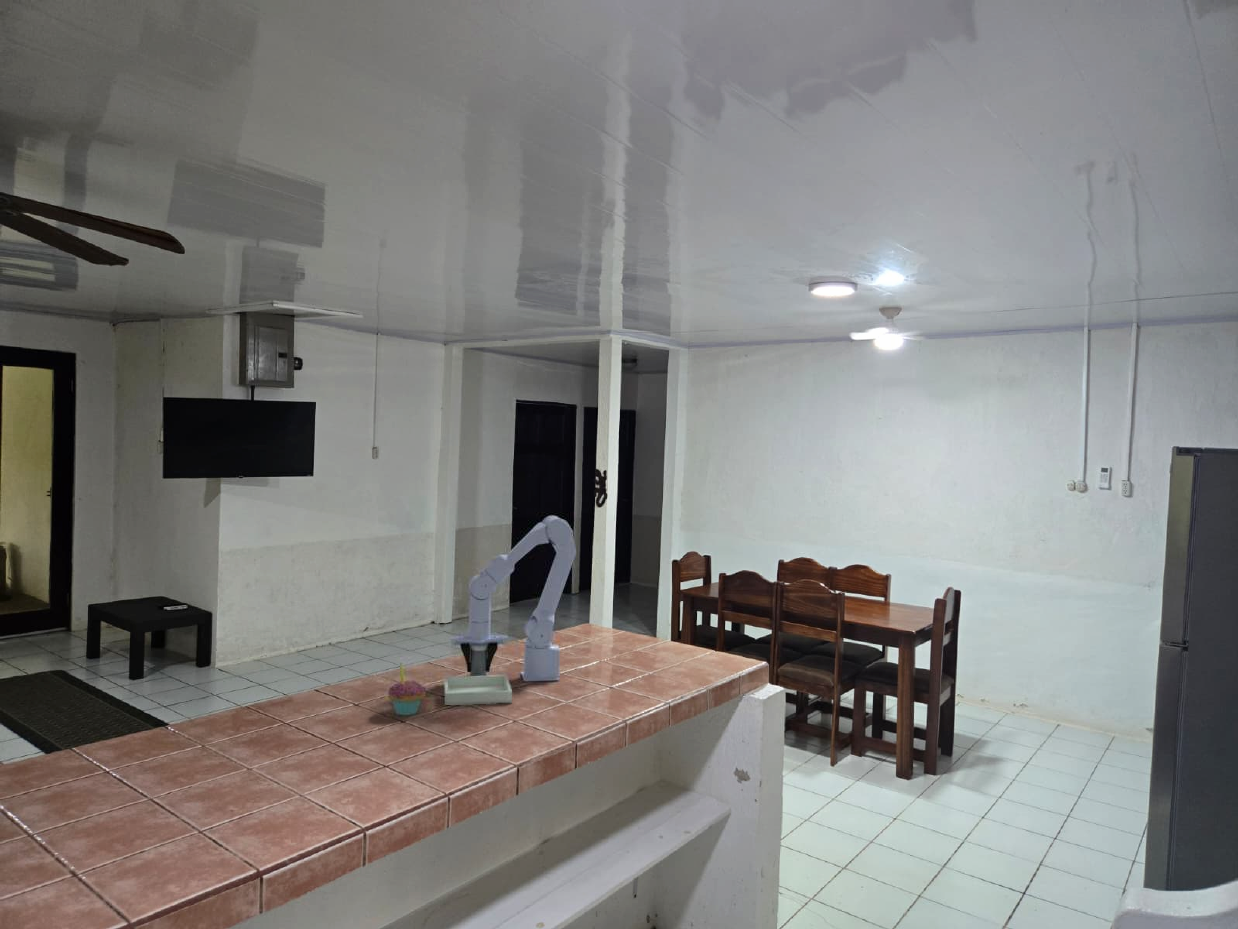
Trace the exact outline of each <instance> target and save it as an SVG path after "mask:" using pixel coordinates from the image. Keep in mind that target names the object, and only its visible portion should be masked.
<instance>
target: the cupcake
mask: <svg viewBox="0 0 1238 929" xmlns="http://www.w3.org/2000/svg"><path fill="white" fill-rule="evenodd" d="M399 665H400V666H399V672H400V673H399V674H400V680H401V681H399V682H397V683H394V684H393V686H391V687H390V688H389V690H388V692H387V696H388V697H387V698H388V699H389V700H390V701H391V702H392V704H393V706H394V710H395V714H397V715H399V716H412V715H414V713H415V714H416V713H417V712H418V708H419V705H420V703H421V701H422V700H423V699H424V698H426V696H427V695H426V688H425V687H424V686H423V685H422V684H421V683H419V682H418V681H415V680H406V681H405V675H404V666H403V665H402V663H399ZM411 714H412V715H411Z"/></svg>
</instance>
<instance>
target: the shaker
mask: <svg viewBox="0 0 1238 929" xmlns="http://www.w3.org/2000/svg"><path fill="white" fill-rule="evenodd" d="M487 649H488V644H471V645H470V672H469V676H486V675H487V673H488V672H487Z"/></svg>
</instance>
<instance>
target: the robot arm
mask: <svg viewBox="0 0 1238 929" xmlns="http://www.w3.org/2000/svg"><path fill="white" fill-rule="evenodd" d="M549 543H551V546H552V547H553V548H554V551H555V553H556V554H555V557H554V559H553V561H552V565H551V568H550V571H549V573H548V575H547V576H548V577H547V579H546V582H545V584H544V588H543V590H542V593H541V595H540V599H539V601H538V603H537V604H538V605H537V607H536V608H535V609H534V610H533V611H532V614H531V615H530V616H531V617H530V618H529V619H528V620H527V621H525V624H524V626H523V627H524V628H523V630H524V634H525V636H526V637H527V639H526V640H525V642H524V654H523V655H524V656H523V657H524V658H523V659H524V660H523V661H524V662H523V671H520V675H521V677H522V680H523V682H539V681H540V682H543V681H544V682H545V681H547V682H548V681H559V680H560V678H559V676H560V675H559V674H560V673H559V672H560V648H559V645H558V644H552V641H553V638H554V632H553V631H554V630H553V628H554V625H555V613H556V610H557V608H558V605H559V602H560V599H561V596H562V594H563V591H564V588H565V586H566V583H567V580H568V577H569V574H570V572H571V568H572V567H573V566H572V565H573V563H574V560H575V558H576V556H577V555H576V554H577V548H576V543H575V539H574V531H573V529H572V528H571V525H570V524H569V523H568V521H567V520H565V519H562V518H560V517H559V516H557V515H548V516H546V517H544V519H543V520H542V521H541V522H540V521H539V522H538V523H536V525H534V527H533V528H531V530H530V531H529V532H528V533H527V534H526V535H525V536H524V537H523V538H522V539H521V540H520V541H518V542H517V544H516V545H515V546H514V547H513V548H512V549H510V550H509V551H508V553H506V554H499V555H498V556H493V557H492V559H491V562H490V563H489V564H487V566H486V567H485V568H483V570H482V569H480V570H478V574H476V575H475V576H472V577H471V579H470V580H469V583H468V585H467V586H468V591H469V592H470V596H469V601H470V602H469V605H468V606H469V607H468V635H467V634H466V635H460V636H451V640H450V641H451V642H450V643H451V644H450V645H451V647H452V646H460V650H461V653H462V654H463V658H464V659H465V663H466V673H470V650H471V649H470V645H471V644H488V649H487V673H489V672H490V670H491V669H490V668H491V665H492V661H493V659H494V657H495V654H496V653H497V651H498V650H499V649H498V647H499V646H498V645H507V643H508V640H507V638H508V636H507V635H499V634H497V635H495V634H491V623H492V622H491V617H492V602H491V598H492V597H491V596H492V595H493V594H494V591H495V590H494V589H495V588H496V587H498V586H499V585H500V584H501V583H502V582H504V580H505V579H507V578H508V577H509V576H510V575H511V574H512V573H513V572H514V571H515V565H516V564H517V562H518V561H519V560H521V559H522V558H523V557H524V556H526V554H528V553H529V552H530V551H532V549H534V548H535V547H536V546H539V545H543V544H549Z"/></svg>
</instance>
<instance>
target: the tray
mask: <svg viewBox="0 0 1238 929" xmlns="http://www.w3.org/2000/svg"><path fill="white" fill-rule="evenodd" d="M443 692H444V693H443V695H444V696H445V697H444V706H445V705H460V706H474V705H473V704H486V705H492V704H491V703H495V704H494V705H497V704H496V703H512V702H513V700H512V699H513V690H512V686H511V684H510V681H509V678H508V675H507V674H491V675H490V674H489V675H487V674H486V676H470V675H464V676H463V675H461V676H460V675H459V676H458V675H457V676H444V678H443ZM488 703H489V704H488ZM512 704H513V703H512Z"/></svg>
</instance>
